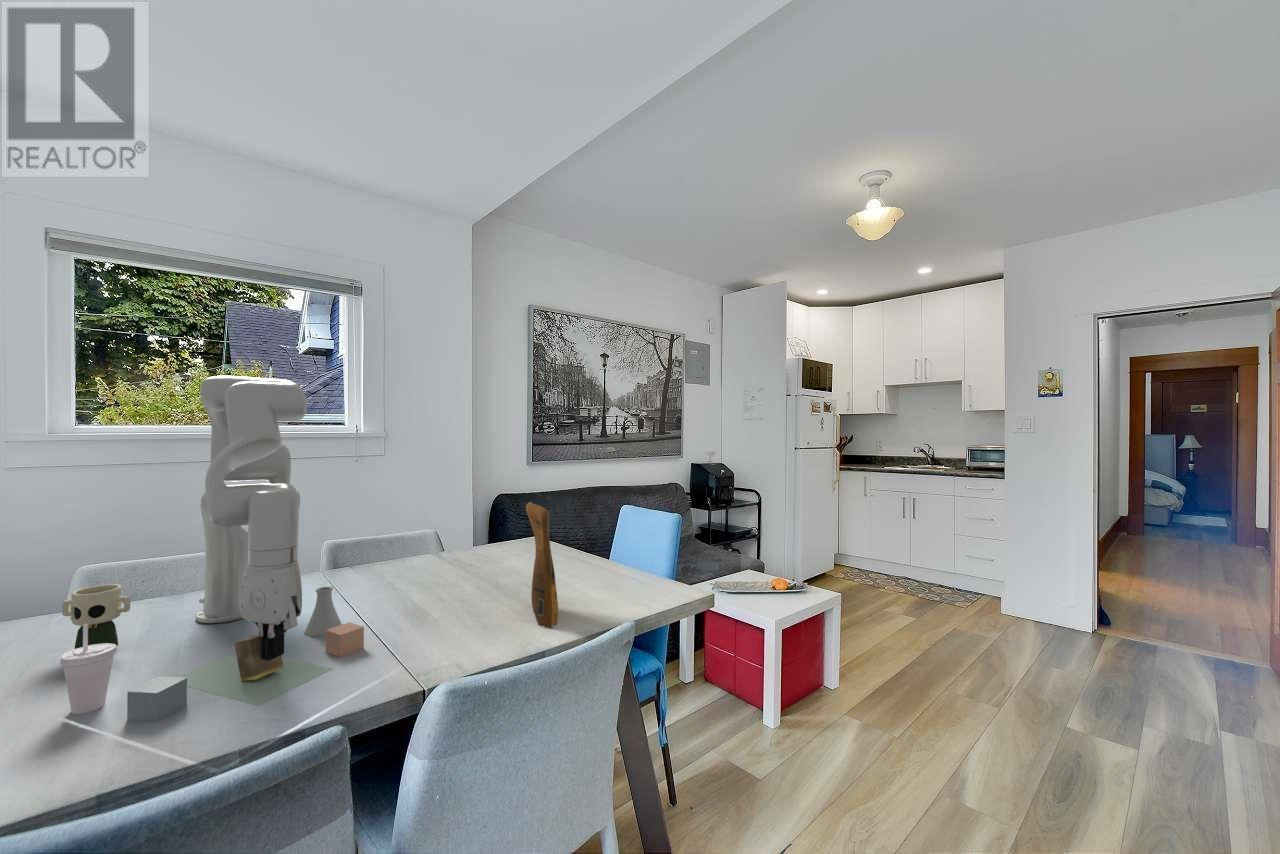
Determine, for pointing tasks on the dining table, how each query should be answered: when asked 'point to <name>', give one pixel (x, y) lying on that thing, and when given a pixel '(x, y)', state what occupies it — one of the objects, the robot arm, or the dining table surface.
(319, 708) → the dining table surface
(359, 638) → the terracotta block
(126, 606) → the character mug
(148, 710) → the slate block
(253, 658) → the walnut block
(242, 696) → the rubber mat
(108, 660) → the smoothie
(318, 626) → the flask
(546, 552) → the pancake mix bag
